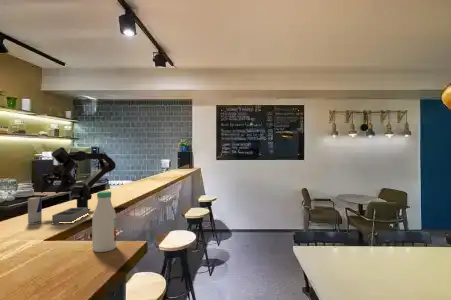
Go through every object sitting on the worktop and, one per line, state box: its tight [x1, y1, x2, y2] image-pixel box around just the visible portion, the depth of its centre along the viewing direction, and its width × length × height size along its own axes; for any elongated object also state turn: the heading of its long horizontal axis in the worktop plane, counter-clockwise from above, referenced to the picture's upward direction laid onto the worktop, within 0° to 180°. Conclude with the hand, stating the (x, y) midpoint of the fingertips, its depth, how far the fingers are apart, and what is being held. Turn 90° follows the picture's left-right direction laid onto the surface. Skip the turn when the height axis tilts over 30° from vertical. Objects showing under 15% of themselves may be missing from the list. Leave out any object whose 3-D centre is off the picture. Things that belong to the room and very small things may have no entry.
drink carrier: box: [50, 207, 89, 224], centre depth 142 cm, size 18×10×4 cm, turn 1°
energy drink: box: [27, 196, 43, 225], centre depth 135 cm, size 5×5×12 cm
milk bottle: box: [91, 190, 117, 253], centre depth 100 cm, size 8×8×20 cm
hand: (48, 192), depth 142 cm, fingers open, 9 cm apart
